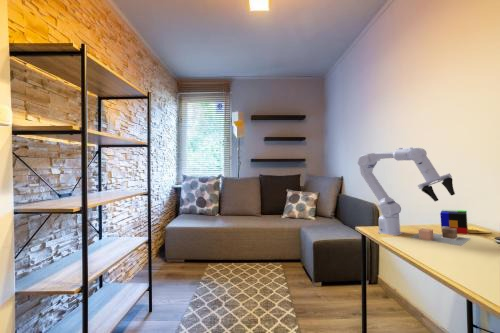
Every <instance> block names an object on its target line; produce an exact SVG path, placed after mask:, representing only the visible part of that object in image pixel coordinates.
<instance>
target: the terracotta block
mask: <svg viewBox="0 0 500 333" xmlns="http://www.w3.org/2000/svg"><path fill="white" fill-rule="evenodd" d="M418 233H419V239H418V240H421V239H424V240H423V241H427V240H431V239H433V238H434V236H433V233H434V229H429V228H420V229H418Z"/></svg>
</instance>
